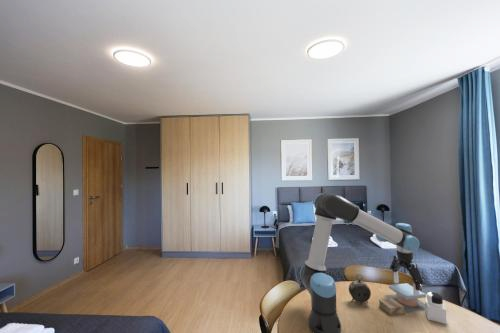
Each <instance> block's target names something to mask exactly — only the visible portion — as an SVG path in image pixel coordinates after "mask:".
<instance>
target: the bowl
mask: <svg viewBox="0 0 500 333" xmlns="http://www.w3.org/2000/svg"><path fill="white" fill-rule="evenodd" d="M395 294H396V296H397V301H398V302H399V303H401V304H402V305H405V306H408V307H417V306H418V300H419V298H416V299H404V298H403V297H401V296H400V295H399V294H397V293H396V292H395Z"/></svg>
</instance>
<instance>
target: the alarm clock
mask: <svg viewBox="0 0 500 333" xmlns="http://www.w3.org/2000/svg"><path fill="white" fill-rule="evenodd" d="M358 276H361V279H360V278H359V279H358ZM355 277H356V280H353V281H352V282H350V284H349V286H348V292H349V295H350V296H351V297H352V299H351V302H352V303H353V301H355V302H357V303H360V306H363V303H369V302H368V301H369V299H370V298H371V295H372V292H371V289H370V287H369V285H367V283H366V282H364V281H363V275H362V274H360V273H359V274H357V275H356V276H355Z"/></svg>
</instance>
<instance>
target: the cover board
mask: <svg viewBox="0 0 500 333" xmlns="http://www.w3.org/2000/svg"><path fill="white" fill-rule="evenodd" d="M388 289H389V290H391V291H393V292H394V293H395V294H396V293H397V294H399V295H400V296H401V297H403V298H404V299H416V298H418V299H422V298H425V299H426V298H427V293H424V292H423V291H421V290H419V296H414V295H413V285H412V284H409V283H407V282H405V283H393V284H389V285H388Z"/></svg>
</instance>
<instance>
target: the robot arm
mask: <svg viewBox="0 0 500 333" xmlns="http://www.w3.org/2000/svg"><path fill="white" fill-rule="evenodd" d="M313 206H314V208H315V210H314V216H315V217H316V219H315V220H316V221H315V225H314V230H313V235H312V240H311V246H310V250H309V255H308V259H307V260H305V261H304V265H303V266H302V267H301V268H300V271H299V278H300V280H301V284H302V285H303V286H304V287H305V289H306V291H307V292H308V293H309V295H310V302H311V303H310V304H311V310H310V313H309V316H308V320H307V321H308V322H307V323H308V328H309V330H310V331H311V332H312V333H313V332H314V333H342V324H341V320H340V318H339V315H338V312H337V311H338V310H337V287H336V286H337V285H336V282H335V279H334V278H333V277H332V276H331V275H329V274H327V267H326V266H325V263H326V258H327V252H328V247H329V242H330V238H331V233H332V232H331V231H332V228H333V223H334V222H335V221H336V220H337V219H339V220H342V221H345V222H346V223H349V224H351V223H353V224H355V225H357V226H359V227H361V228H363V229H364V230H366V231H369V232H371V233H372V234H375V238H376V239H377V241H379V242H381V243H382V242H384V243H385V242H387V243H389V244H392V245H394V246H396V255H393V259H392V261H391V264H390V266H389V268H390V269H389V270H391V271H392V277H393V284H400V280H399V279H400V276H399V273H400V272H399V270H400V269H401V268H404V269H405V270H406V271H407V272H408V273H409V275H410V278H411V279H412V280H413V282H412V286H413V295H414V296H419V290H420V289H421V287H420V285H424V281H423V279H422V277H421V273H420V270H419V268H418V264H417V263H413V262H412V261H413V259H414V257H413V256H414V254H413V252H416V251H417V250H419V248H420V244H421V243H420V241H419V239H418V238H417V237H416V236H413V228H412V225H410V224H409V223H404V222H398V223H395V226H392V225H391V224H389V223H387V222H385V221H383V220H381V219H379V218H377V217H375V216H373V215H372V214H371V213H370V214H369V213H368V212H365V211H363V210H362V209H360V206H359V205H357V204H355V203H354V202H351V201H350V200H348V199H347V198H345V197H343V196H341V195H339V194H333V193H330V192H323V193H320V194H317V195H316V197H314V201H313ZM420 291H421V290H420Z"/></svg>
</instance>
